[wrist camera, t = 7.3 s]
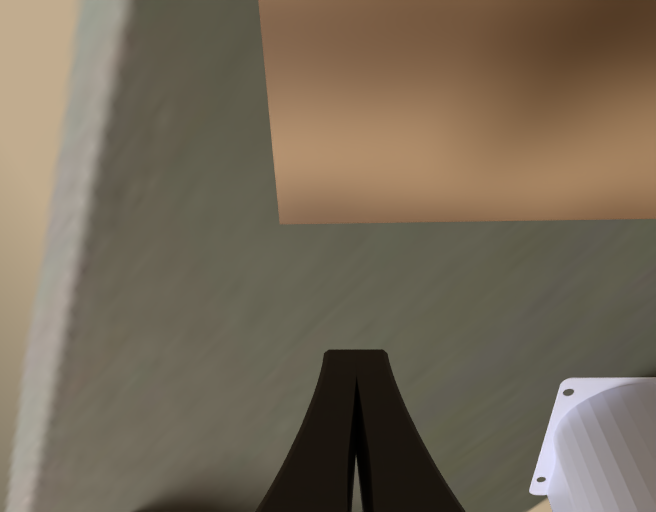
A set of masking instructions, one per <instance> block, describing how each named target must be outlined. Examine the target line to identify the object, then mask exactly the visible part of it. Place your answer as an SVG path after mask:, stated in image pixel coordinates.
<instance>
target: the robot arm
mask: <svg viewBox="0 0 656 512" xmlns="http://www.w3.org/2000/svg"><path fill="white" fill-rule="evenodd" d="M566 389H573V390H574V393H573V394H572V395H569V396H565V395H563V391H564V390H566ZM356 457H357V466H358V475H359V484H360V493H361V502H362V511H363V512H465V510H464V509H463V507H462V506H461V504H460V503H459V502H458V500H457V498H456V497H455V495H454V494H453V492H452V491H451V489H450V488H449V486H448V485H447V483H446V481H445V480H444V478H443V476H442V475H441V473H440V471H439V470H438V468H437V466H436V465H435V463H434V461H433V459H432V458H431V456H430V454H429V452H428V450H427V449H426V447H425V445H424V443H423V441H422V439H421V437H420V435H419V433H418V431H417V429H416V427H415V425H414V423H413V421H412V419H411V417H410V415H409V413H408V411H407V408H406V406H405V404H404V402H403V399H402V397H401V394H400V392H399V389H398V387H397V384H396V381H395V379H394V376H393V373H392V370H391V366H390V363H389V359H388V354H387V353H386V352H385V351H384V350H328V351H327V352H325V353H324V357H323V364H322V368H321V372H320V376H319V379H318V383H317V386H316V389H315V392H314V395H313V398H312V400H311V403H310V405H309V408H308V410H307V413H306V415H305V418H304V420H303V423H302V425H301V427H300V430H299V432H298V434H297V436H296V438H295V440H294V442H293V444H292V447H291V449H290V451H289V453H288V455H287V457H286V459H285V461H284V463H283V465H282V467H281V469H280V470H279V472H278V474H277V476H276V478H275V480H274V481H273V483H272V485H271V487H270V488H269V490H268V492H267V494H266V495H265V497H264V499H263V500H262V502H261V503H260V505H259V507H258V508H257V510H256V511H255V512H351V511H352V498H353V485H354V472H355V459H356ZM539 477H545V478H546V480H545V481H543V482H538V481H537V480H536V479H537V478H539ZM529 492H530V493H531V494H534V495H547V496H548V499H549V502H550V505H551V508H552V512H656V377H637V378H568V379H566V380H564V381H563V382H562V383H561V385H560V388H559V391H558V395H557V398H556V401H555V405H554V408H553V412H552V415H551V418H550V422H549V425H548V429H547V432H546V435H545V439H544V442H543V445H542V449H541V452H540V456H539V459H538V462H537V466H536V469H535V472H534V476H533V479H532V483H531V486H530V489H529Z"/></svg>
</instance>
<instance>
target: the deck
mask: <svg viewBox="0 0 656 512" xmlns="http://www.w3.org/2000/svg"><path fill="white" fill-rule="evenodd" d="M258 1H259V11H260V22H261V32H262V43H263V53H264V64H265V74H266V85H267V95H268V105H269V116H270V126H271V137H272V147H273V158H274V168H275V178H276V189H277V199H278V210H279V220H280V224H327V223H393V222H460V221H526V220H593V219H656V0H258Z"/></svg>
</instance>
